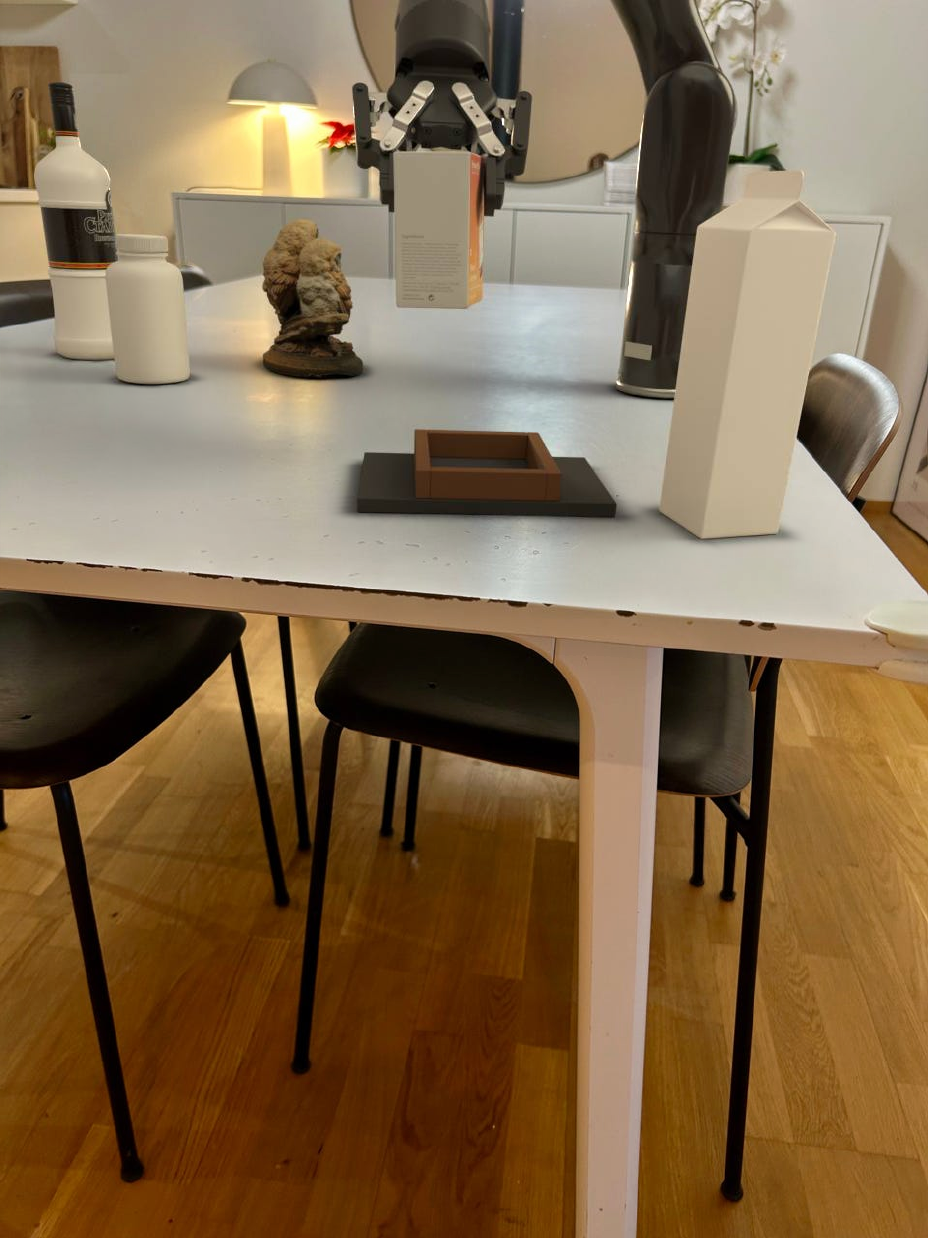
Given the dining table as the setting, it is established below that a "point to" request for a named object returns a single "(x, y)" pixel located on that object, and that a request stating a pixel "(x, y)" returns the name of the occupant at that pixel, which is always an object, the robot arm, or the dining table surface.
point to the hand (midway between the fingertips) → (441, 205)
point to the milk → (745, 359)
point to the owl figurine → (308, 304)
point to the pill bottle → (147, 312)
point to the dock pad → (481, 477)
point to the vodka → (76, 236)
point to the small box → (438, 229)
